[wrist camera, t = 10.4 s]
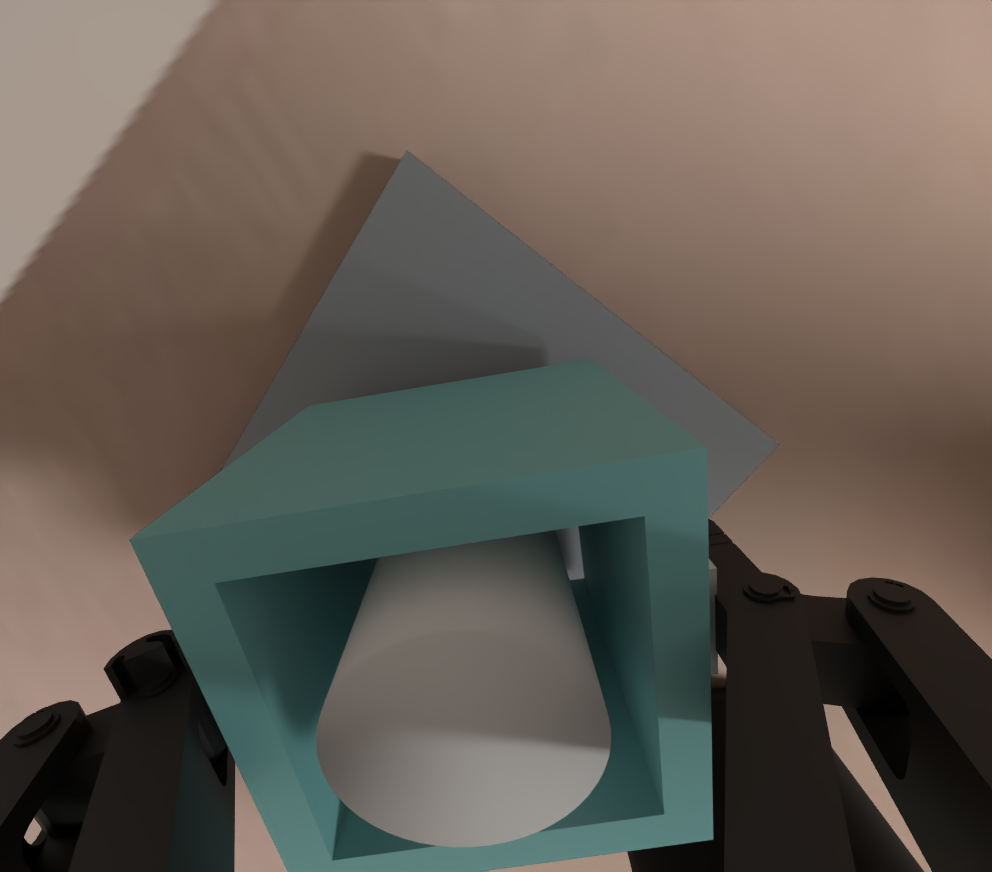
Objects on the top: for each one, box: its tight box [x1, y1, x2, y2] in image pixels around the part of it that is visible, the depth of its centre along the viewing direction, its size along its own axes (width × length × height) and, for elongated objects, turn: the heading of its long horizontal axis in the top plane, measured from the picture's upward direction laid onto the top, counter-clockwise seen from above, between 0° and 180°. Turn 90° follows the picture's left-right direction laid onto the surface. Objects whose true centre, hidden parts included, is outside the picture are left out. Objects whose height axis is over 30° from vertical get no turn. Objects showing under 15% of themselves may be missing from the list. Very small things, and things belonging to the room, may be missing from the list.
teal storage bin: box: [129, 359, 713, 872], centre depth 12 cm, size 9×9×8 cm
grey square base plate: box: [220, 151, 779, 847], centre depth 13 cm, size 16×16×12 cm
